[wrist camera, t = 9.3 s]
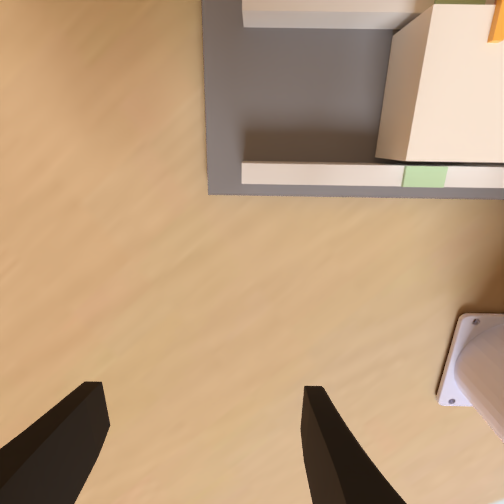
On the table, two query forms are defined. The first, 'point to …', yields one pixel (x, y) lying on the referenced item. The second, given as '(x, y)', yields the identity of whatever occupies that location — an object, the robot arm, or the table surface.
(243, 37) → the gauge base
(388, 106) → the gauge carriage
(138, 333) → the table surface
